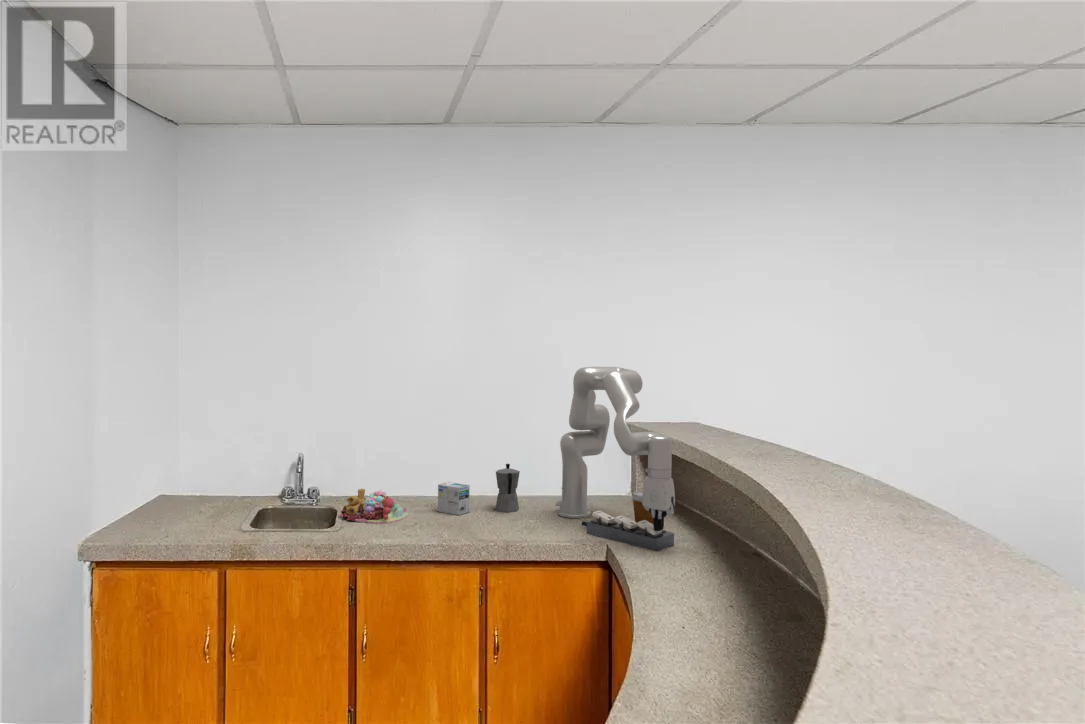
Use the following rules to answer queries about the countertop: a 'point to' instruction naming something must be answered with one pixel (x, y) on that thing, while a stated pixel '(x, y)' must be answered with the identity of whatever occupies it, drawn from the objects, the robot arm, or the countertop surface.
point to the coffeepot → (507, 489)
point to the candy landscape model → (372, 509)
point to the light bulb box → (453, 498)
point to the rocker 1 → (603, 516)
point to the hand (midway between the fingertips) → (658, 529)
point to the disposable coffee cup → (640, 508)
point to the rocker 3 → (648, 527)
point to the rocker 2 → (626, 522)
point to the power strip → (629, 535)
